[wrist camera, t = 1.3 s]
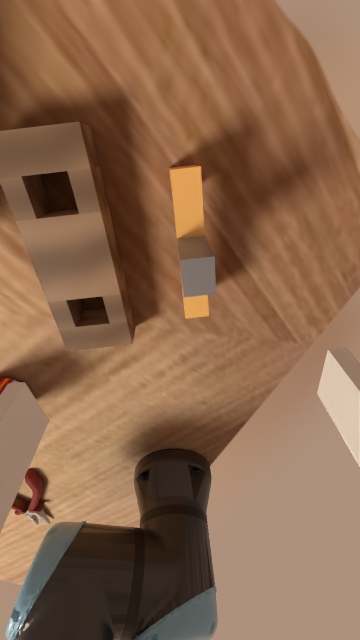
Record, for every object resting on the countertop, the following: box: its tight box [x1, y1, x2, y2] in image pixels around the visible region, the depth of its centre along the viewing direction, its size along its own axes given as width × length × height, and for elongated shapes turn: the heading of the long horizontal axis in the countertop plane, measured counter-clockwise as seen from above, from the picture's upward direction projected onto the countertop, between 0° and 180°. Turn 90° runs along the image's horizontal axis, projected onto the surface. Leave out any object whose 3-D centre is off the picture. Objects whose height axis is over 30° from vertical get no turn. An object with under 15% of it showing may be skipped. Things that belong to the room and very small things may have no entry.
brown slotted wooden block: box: [0, 122, 136, 351], centre depth 29 cm, size 22×8×4 cm, turn 6°
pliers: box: [11, 469, 50, 524], centre depth 56 cm, size 12×20×3 cm, turn 7°
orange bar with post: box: [169, 165, 216, 318], centre depth 25 cm, size 14×2×12 cm, turn 6°
